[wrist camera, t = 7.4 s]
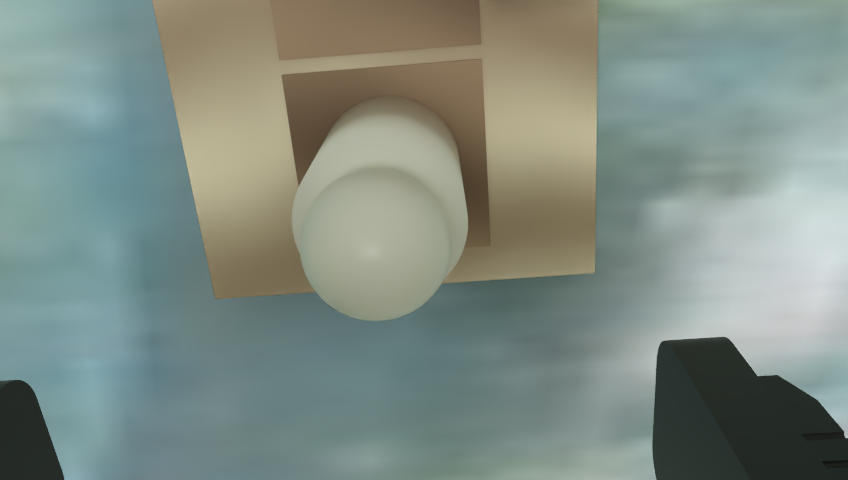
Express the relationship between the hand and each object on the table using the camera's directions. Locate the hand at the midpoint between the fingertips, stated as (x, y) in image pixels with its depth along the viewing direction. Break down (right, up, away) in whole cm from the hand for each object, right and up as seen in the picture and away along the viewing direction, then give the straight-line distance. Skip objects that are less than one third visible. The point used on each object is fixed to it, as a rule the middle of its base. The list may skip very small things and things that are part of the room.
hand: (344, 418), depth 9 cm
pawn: (0, +4, +12) cm, 12 cm away
